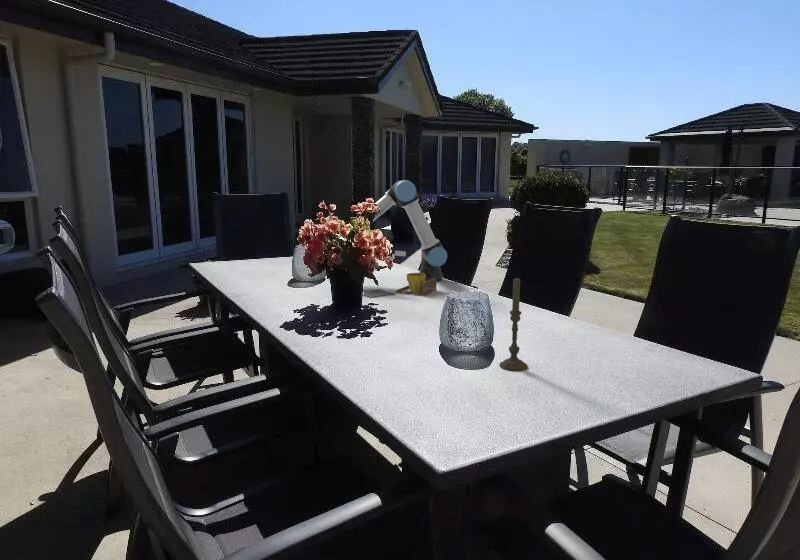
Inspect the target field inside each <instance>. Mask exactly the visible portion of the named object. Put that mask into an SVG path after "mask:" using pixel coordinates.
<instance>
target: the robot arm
mask: <svg viewBox="0 0 800 560" xmlns="http://www.w3.org/2000/svg"><path fill="white" fill-rule="evenodd" d="M419 200H420V197H419V195H418V192H417V188H416V185H415V184H414V183H413V182H412V181H410V180H408V179H407V180H406V179H401V180H398V181H396V182H394V184H393V185H391V187H390V188H389V189H388V190H387V191H386V192H385V193H384V196H382V197H381V198H379V200H378V201H376V202H375V203H374V204H376V205H377V206H378V207H379V208H380V212H379V213H378V214H377V215H375V217H374V219H373V222H374V221H376V220H377V219H378V218H380V216H382V215H383V214H384V213H385V212H386V211H388V210H389V209H390V208H391V207H393V206H397V205H398V204H399V206H400V208H403V209H404V210H405V212H406V215H407V216H408V218H409V221H410V223H411V224H412V226H413V228H414V230H415V233H416V235H417V236H418V239H419V241H420V243H421V247H420V249H421V253H420V254H421V257H420V259H421V265H420V269H419V272H418V273H424V274H425V276H426V278H425V281H428V280H430V279H433V278H437V281H438V282H439V281H442V280H443V279H444V274H443V272H442V269H441V266H443V265H445V263H446V262H447V259H448V253H447V251H446V249H445V248H444V246H443V245H442V244H441V242H440V239H437V238H436V237H435V235H434V233H433V230H432V228H431V225H430V224H429V222H428V220H427V218H426V216H425V213H424V211H423V209H422V207H421V205H420V203H419ZM406 253H407V252H406V251H404V250H403V251H402V250H397V249H395V248H394V249H393V250H392V258H393V259H392V260H395V259H396V257H395V256H397V257H406ZM425 281H424V282H425Z"/></svg>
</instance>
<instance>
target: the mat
mask: <svg viewBox="0 0 800 560" xmlns="http://www.w3.org/2000/svg"><path fill="white" fill-rule="evenodd" d="M363 291H364V296H363V297H366V296H367V298H369V297H370V298H371V299H372V297H373V298H379V297H380V296H381V297H387V296H386V295H388V296H394V295H395V293H394V292H390V291H387V290H384V289H380V288H376V289H369V290H363ZM370 298H369V299H370Z"/></svg>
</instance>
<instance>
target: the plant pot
mask: <svg viewBox="0 0 800 560" xmlns="http://www.w3.org/2000/svg"><path fill="white" fill-rule="evenodd" d="M425 278H426V276H425V274H424V273H419V272H410V273H406V281H407V282H408V285H409V291H412V292H422V283H423V282H425Z"/></svg>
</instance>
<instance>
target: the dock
mask: <svg viewBox="0 0 800 560" xmlns="http://www.w3.org/2000/svg"><path fill="white" fill-rule="evenodd" d="M408 288H409V284H408V285H406V286H403V287H400V288H398V289H396V290H395V294H401V293H405V294H404V295H411V294H415V295H414V296H421V295H425V296H427V295H429V294H431V292H432V293H433V292H436V291H437V278H433V279H430V280H428V281H424V282H423V283H422V292H412V291H410V290H408ZM405 289H406V290H405ZM409 289H410V288H409ZM403 290H404V291H403Z"/></svg>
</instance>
